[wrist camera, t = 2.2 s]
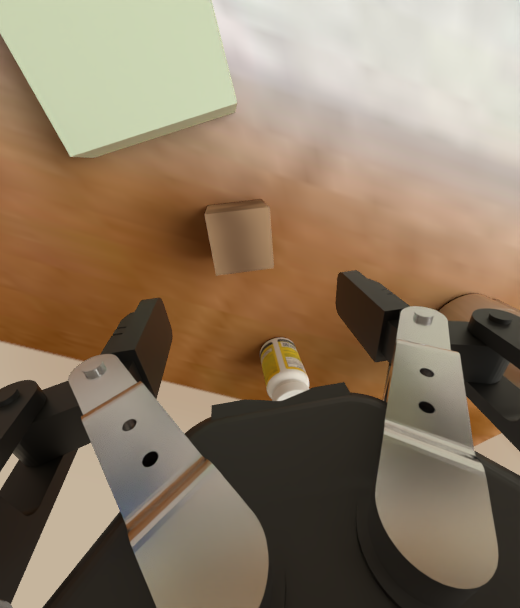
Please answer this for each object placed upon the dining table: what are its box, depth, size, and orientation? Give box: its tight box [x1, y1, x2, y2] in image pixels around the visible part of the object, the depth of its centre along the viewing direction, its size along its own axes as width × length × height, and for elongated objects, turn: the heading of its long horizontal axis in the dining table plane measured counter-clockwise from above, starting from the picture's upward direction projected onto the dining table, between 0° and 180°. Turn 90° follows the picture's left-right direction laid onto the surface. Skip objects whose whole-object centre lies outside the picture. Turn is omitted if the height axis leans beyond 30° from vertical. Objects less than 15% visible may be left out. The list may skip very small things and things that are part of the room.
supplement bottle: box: [260, 337, 309, 401], centre depth 29 cm, size 5×5×8 cm
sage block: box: [0, 0, 237, 158], centre depth 16 cm, size 12×12×4 cm
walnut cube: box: [204, 199, 274, 276], centre depth 23 cm, size 5×5×5 cm
